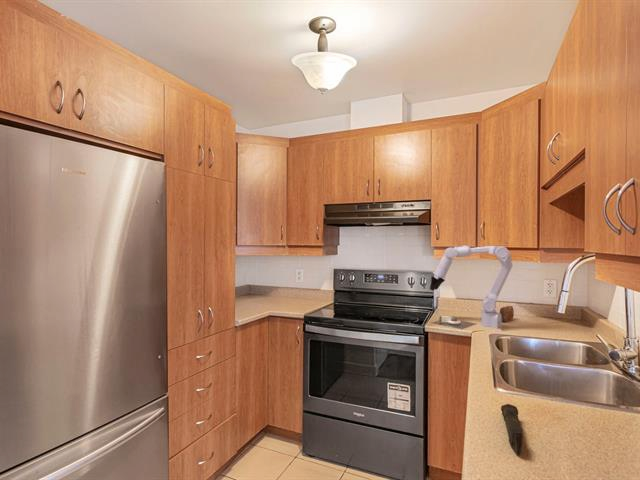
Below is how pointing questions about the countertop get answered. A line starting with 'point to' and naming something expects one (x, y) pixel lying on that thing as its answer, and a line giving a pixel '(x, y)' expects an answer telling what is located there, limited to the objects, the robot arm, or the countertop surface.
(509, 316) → the brown slab
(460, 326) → the dial plate
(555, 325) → the countertop surface
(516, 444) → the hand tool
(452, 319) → the dial
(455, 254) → the robot arm
